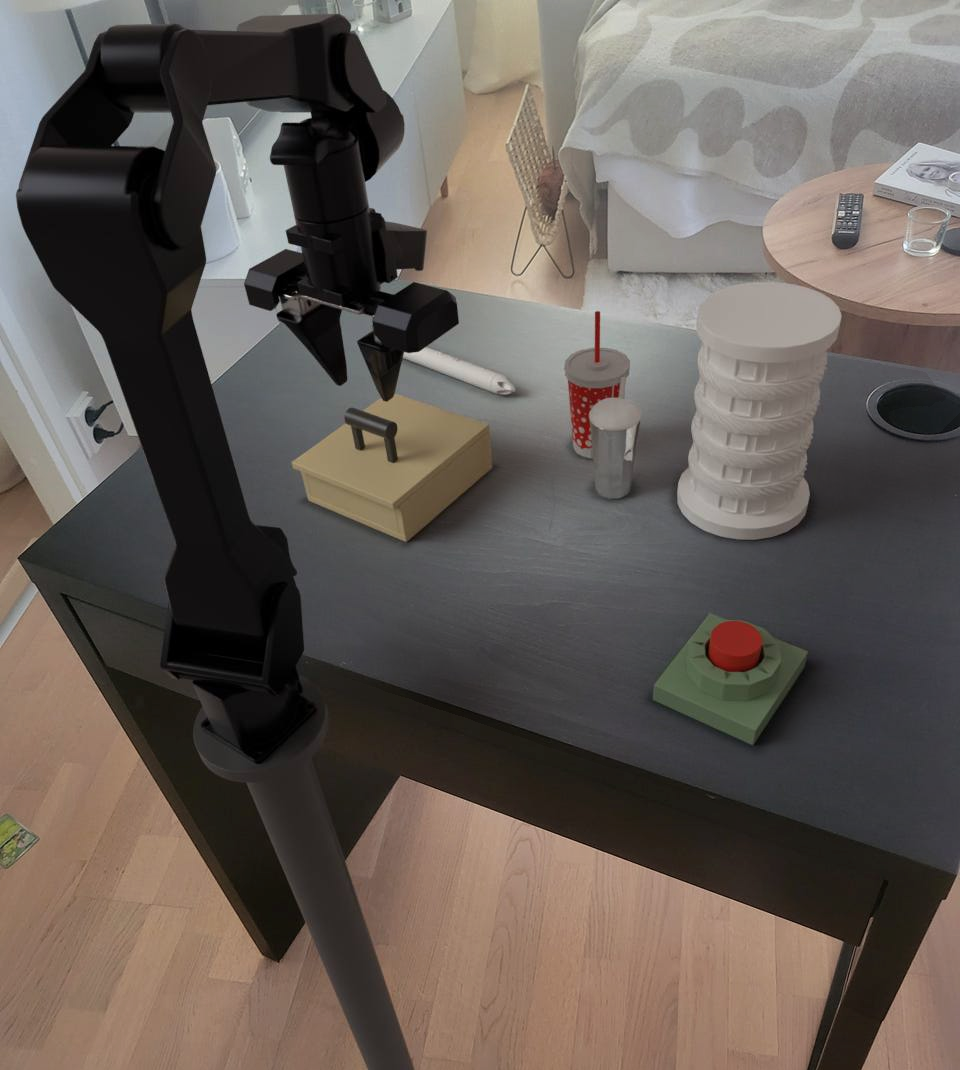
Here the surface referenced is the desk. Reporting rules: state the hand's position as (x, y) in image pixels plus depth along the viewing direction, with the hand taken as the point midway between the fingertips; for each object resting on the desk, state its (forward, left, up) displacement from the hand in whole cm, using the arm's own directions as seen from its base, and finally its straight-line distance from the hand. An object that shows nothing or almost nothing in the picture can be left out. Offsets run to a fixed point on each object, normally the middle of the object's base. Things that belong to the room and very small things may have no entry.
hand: (365, 391), depth 83 cm
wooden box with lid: (+2, 0, -7) cm, 8 cm away
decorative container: (+16, -29, -12) cm, 35 cm away
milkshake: (+12, -18, -12) cm, 25 cm away
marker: (+21, +8, -12) cm, 26 cm away
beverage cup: (+17, -13, -12) cm, 25 cm away
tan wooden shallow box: (+2, 0, -12) cm, 12 cm away
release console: (-5, -38, -12) cm, 40 cm away
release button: (-5, -38, -8) cm, 39 cm away
